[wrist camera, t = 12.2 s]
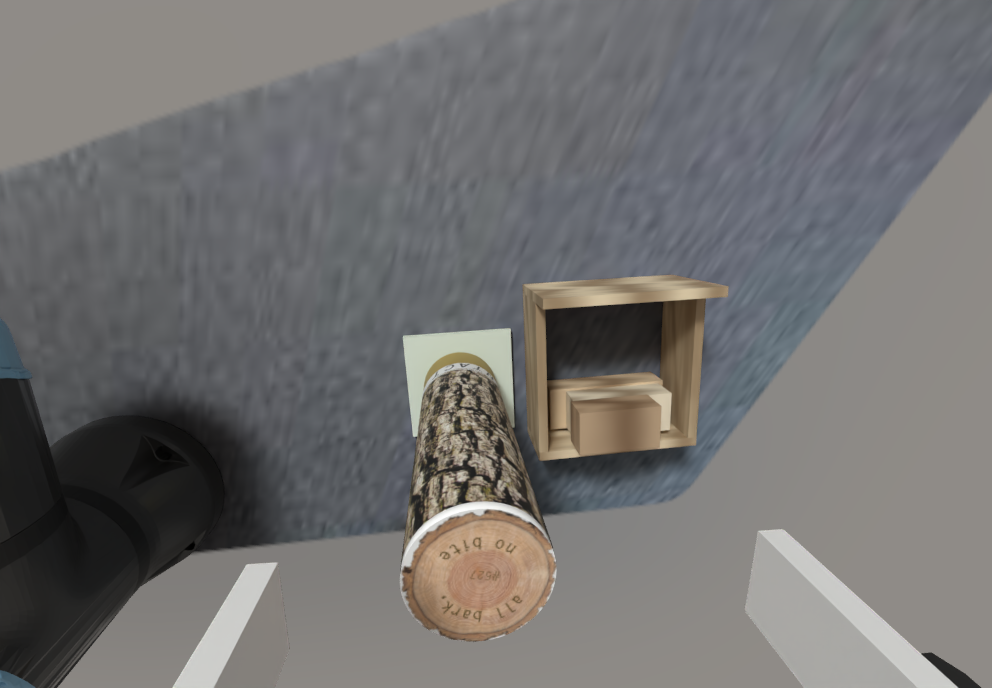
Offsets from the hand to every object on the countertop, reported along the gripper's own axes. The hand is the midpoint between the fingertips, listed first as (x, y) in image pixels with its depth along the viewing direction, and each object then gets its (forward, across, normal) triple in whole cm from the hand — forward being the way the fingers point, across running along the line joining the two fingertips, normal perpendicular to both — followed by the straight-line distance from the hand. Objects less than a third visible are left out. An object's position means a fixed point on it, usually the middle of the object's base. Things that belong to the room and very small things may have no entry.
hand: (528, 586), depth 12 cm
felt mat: (+32, -1, -5) cm, 32 cm away
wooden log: (+31, -1, -5) cm, 32 cm away
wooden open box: (+32, +12, -3) cm, 34 cm away
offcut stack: (+32, +13, -7) cm, 35 cm away
